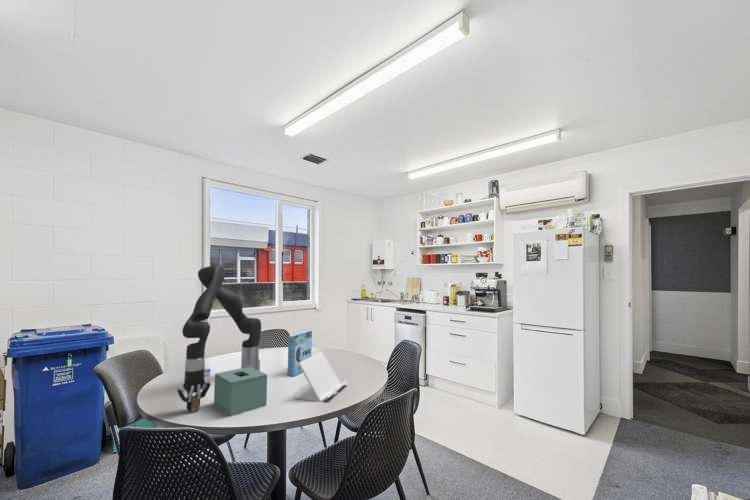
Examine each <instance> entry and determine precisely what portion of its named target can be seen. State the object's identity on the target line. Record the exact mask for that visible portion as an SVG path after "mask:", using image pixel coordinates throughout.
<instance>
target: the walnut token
mask: <svg viewBox="0 0 750 500" xmlns="http://www.w3.org/2000/svg"><path fill="white" fill-rule="evenodd" d="M199 408H200V407H199V398H198V397H197V396H196V394H195V395H194V394H193V395H192V399H191V411H189V412H190V413H191V414H193V413H197V412H199Z"/></svg>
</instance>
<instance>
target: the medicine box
mask: <svg viewBox="0 0 750 500" xmlns="http://www.w3.org/2000/svg"><path fill="white" fill-rule="evenodd" d="M204 380H205V382H209V383H210V384H211V368H205V369H204ZM203 388H204V385H203V387H202V388H201V390H203Z"/></svg>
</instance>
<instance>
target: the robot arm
mask: <svg viewBox="0 0 750 500" xmlns="http://www.w3.org/2000/svg"><path fill="white" fill-rule="evenodd" d="M197 276H198V280H199V281H200V283H201V284H202V285H203V287H205V288H206V289H205V290H204V291H203V292H202V294H201V295H200V296H199V297H198V298H197V300H196V302H195V304H194V308H193V311H192V313H191V314H190V316H189V318H188V319H186V321H185V323H184V324H183V327H182V331H181V332H182V336H183V337H184V338H185V339H198V341H197V342H194V343H189V344H188V345H186V354H185V355H186V356H185V357H186V358H185V362H184V363H185V364H184V381H183V384H182V386H181V387H179V388H178V387H177V388H176V393H177V394H178V396H179V398H180V399H181V400H182V401H183V402H184V403H185V402H186V406H185V407H186V411H187V410H188V411H189V412H190V411H191V399H192V396H194V394H195V396H197V397H198V398H199V407H198V408H200V407H201V399H202V398H205V397H206V395H207V393H208V391H209V389H210V387H211V385H212V384H211V382H210V383H209V382H205V380H204V369H206V367H205V366H206V365H205V364H206V360H205V353H206V352H205V351H206V343H207V340H208V337H209V335H210V331H211V324H210V323H209V322H208V321H207V320H208V319H209V317H210V315H211V311H212V309H213V305H214V301H215V299H216V300H217V301H218V302H219V304H220V305H221V306H222V307H223V309H224V311H226V313H227V314H228V315H229V316H230V317H231V319H232V320H233V321H234V323H235V325H236V326H237V328H238V330H239V331H240V332H241V333H242V334H246V335H248V339H246V340H243V341H242V342H241V343H242V344H241V363H240V366H241V367H240V369H241V368H246V367H251V368H253V369H255V370H258V371H260V372H261V370H260V369H261V359H260V358H259V357H260V356H259V355H260V353H259V352H260V342H261V335H262V321H261V320H260V319H259V318H255V317H254V318H253V317H249V316H248V317H247V315H245V313H244V312H243V307H244V305H243V302H242V299H241V298H240V297H239V295H238V294H237V293H236V292H235V291H233V290H231V289H229V288H227V287H225V286H222V285H223V282H224V280H225V278H226V270H225V269H224V267H223V266H222V265H221V264H214V265H211V266H206V267H201V268H200V269H199V270H198V272H197ZM203 385H204V388H203V389H201V388H202V387H203ZM184 391H186V396H185V394H184Z"/></svg>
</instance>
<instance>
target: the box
mask: <svg viewBox="0 0 750 500" xmlns="http://www.w3.org/2000/svg"><path fill="white" fill-rule="evenodd" d="M213 391H214V392H213V405H215V406H216V407H217V408H218V409H220V410H222V411H223V412H224V413H226V414H227V415H229V417H231V416H235V415H238V414H242V413H245V412H248V411H251V410H255V409H258V408H262V407H266V406H267V396H268V395H267V394H268V374H267V373H265V372H262V371H261V370H260V371H258V370H255V369H253V368H251V367H246V368H241V367H240V368H237V369H232V370H226V371H221V372H215V373H214V390H213Z"/></svg>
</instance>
